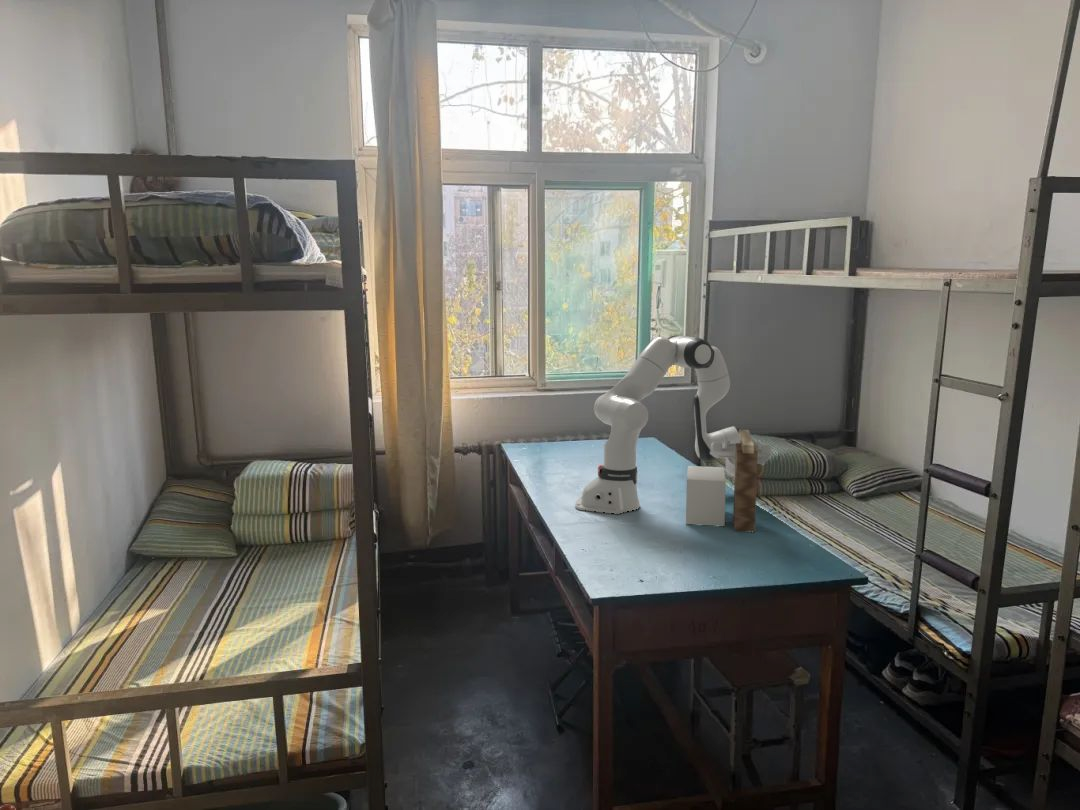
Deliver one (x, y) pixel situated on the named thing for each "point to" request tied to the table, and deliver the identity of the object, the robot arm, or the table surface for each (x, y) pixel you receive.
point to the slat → (746, 441)
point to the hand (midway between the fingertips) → (742, 443)
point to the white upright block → (705, 495)
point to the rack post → (745, 489)
